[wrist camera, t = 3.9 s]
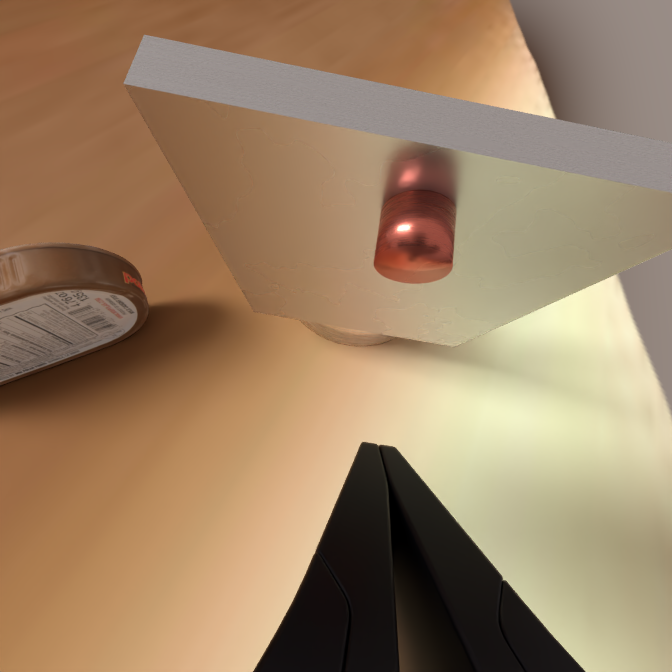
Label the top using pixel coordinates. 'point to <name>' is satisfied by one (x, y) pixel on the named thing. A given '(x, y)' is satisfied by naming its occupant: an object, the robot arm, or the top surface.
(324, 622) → the robot arm
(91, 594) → the top surface
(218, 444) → the top surface
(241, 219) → the lid
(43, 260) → the tin
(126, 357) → the top surface
